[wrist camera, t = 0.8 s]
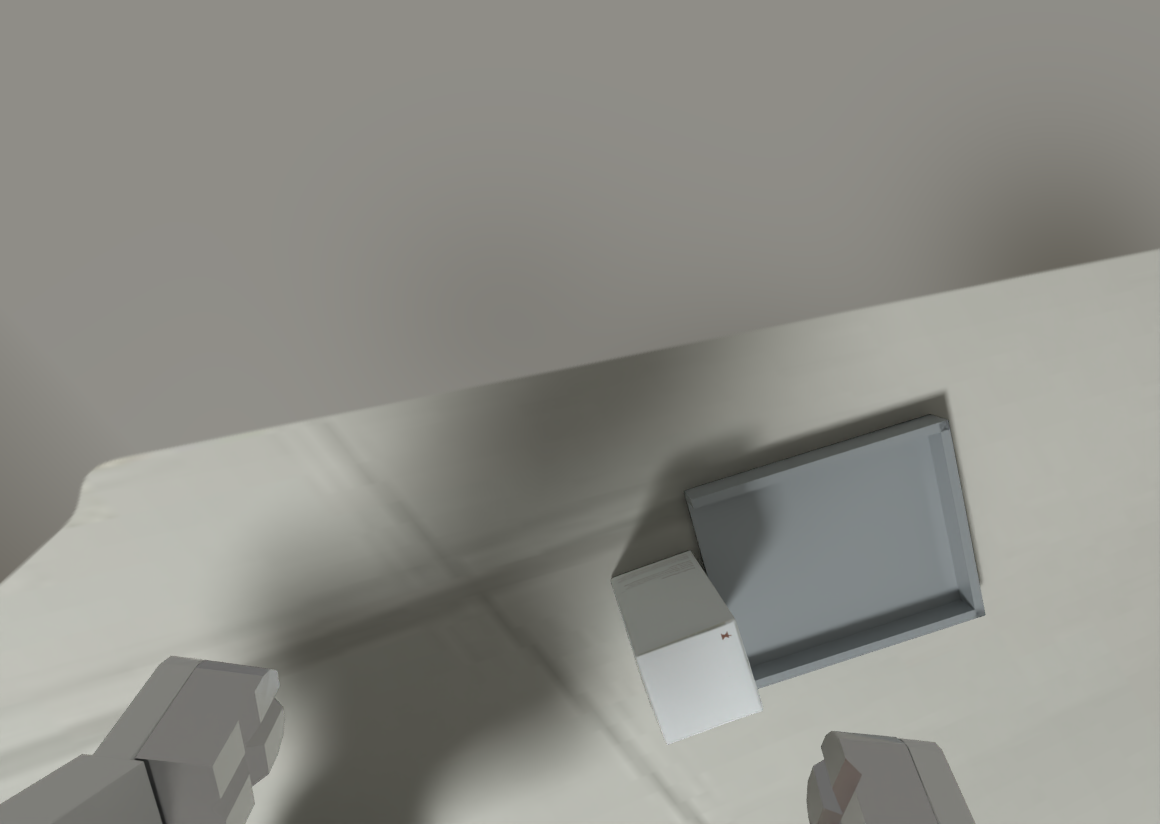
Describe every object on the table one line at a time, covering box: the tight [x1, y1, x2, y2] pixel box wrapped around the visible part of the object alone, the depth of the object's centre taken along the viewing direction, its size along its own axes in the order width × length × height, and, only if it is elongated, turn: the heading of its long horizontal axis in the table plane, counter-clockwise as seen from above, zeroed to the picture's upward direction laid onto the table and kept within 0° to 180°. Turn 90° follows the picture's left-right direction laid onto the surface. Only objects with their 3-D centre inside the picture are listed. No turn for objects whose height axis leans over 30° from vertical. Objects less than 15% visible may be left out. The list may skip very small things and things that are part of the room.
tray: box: [684, 414, 985, 689], centre depth 59 cm, size 18×22×2 cm
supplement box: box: [611, 551, 763, 745], centre depth 53 cm, size 7×7×13 cm
